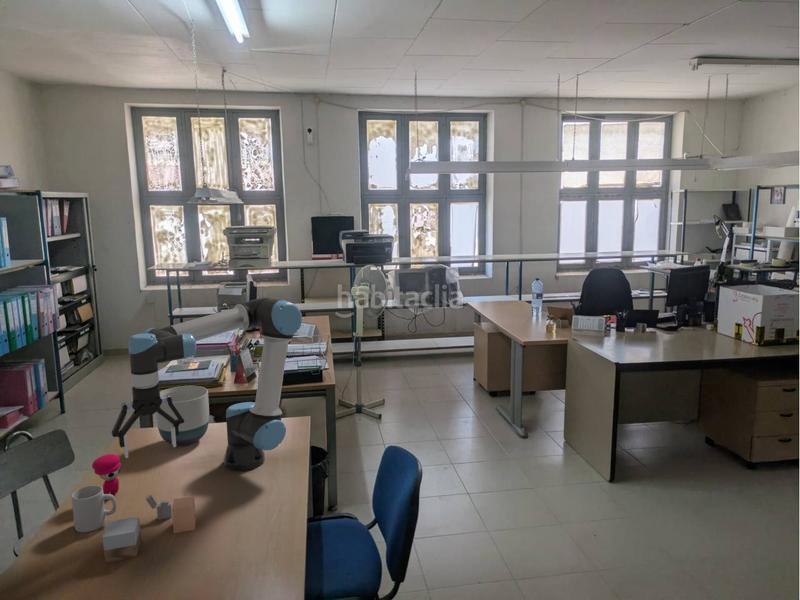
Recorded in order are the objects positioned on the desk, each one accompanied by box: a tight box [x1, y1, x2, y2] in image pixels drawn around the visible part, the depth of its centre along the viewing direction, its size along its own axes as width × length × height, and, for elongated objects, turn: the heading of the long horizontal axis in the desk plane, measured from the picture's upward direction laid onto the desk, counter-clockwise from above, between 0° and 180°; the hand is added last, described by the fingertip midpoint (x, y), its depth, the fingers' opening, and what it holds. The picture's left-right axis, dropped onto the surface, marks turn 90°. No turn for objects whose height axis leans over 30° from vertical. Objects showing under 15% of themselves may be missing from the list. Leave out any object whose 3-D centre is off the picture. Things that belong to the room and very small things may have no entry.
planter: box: [155, 385, 210, 447], centre depth 225 cm, size 20×20×21 cm
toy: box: [91, 453, 122, 496], centre depth 183 cm, size 8×8×15 cm
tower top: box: [102, 516, 141, 551], centre depth 155 cm, size 8×8×4 cm
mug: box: [71, 484, 118, 534], centre depth 168 cm, size 12×8×11 cm
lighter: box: [145, 494, 173, 520], centre depth 172 cm, size 7×2×8 cm, turn 106°
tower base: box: [103, 530, 142, 563], centre depth 155 cm, size 8×8×4 cm
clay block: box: [172, 495, 197, 534], centre depth 167 cm, size 6×6×8 cm
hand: (150, 450), depth 168 cm, fingers open, 13 cm apart
